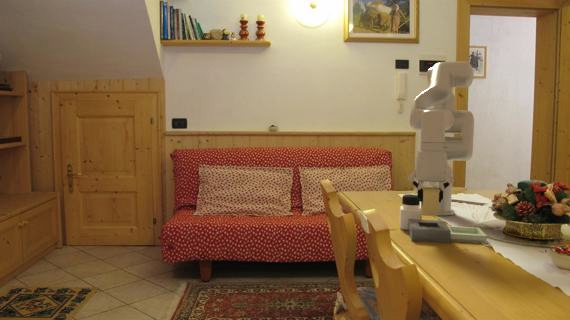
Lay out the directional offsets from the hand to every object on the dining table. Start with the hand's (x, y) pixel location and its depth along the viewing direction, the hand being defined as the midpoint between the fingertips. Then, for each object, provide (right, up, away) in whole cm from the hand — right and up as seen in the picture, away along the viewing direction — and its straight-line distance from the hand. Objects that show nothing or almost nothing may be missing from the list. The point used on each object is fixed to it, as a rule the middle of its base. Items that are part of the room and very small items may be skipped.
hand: (429, 200), depth 159 cm
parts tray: (+12, -12, 0) cm, 17 cm away
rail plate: (0, -12, +1) cm, 12 cm away
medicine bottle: (-3, -11, +12) cm, 17 cm away
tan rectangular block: (0, -4, +1) cm, 5 cm away
